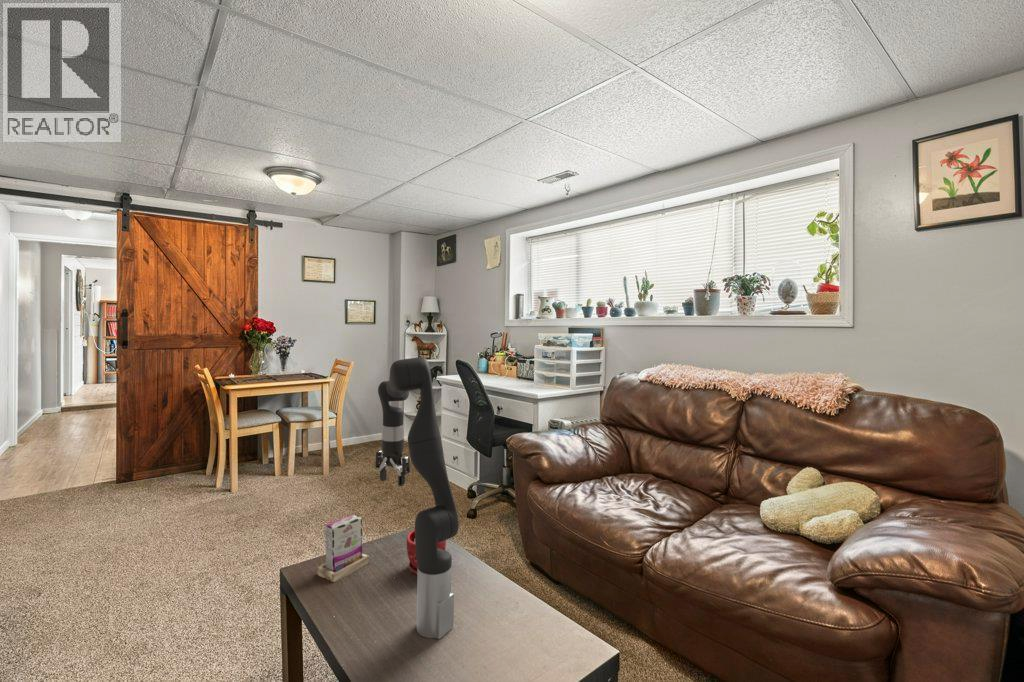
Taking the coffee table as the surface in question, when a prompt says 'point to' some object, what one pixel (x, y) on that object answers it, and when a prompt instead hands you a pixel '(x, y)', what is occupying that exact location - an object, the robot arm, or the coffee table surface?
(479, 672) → the coffee table surface
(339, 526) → the candy bar box
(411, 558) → the plant pot
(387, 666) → the coffee table surface
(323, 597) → the coffee table surface
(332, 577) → the birch collar
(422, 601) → the robot arm
